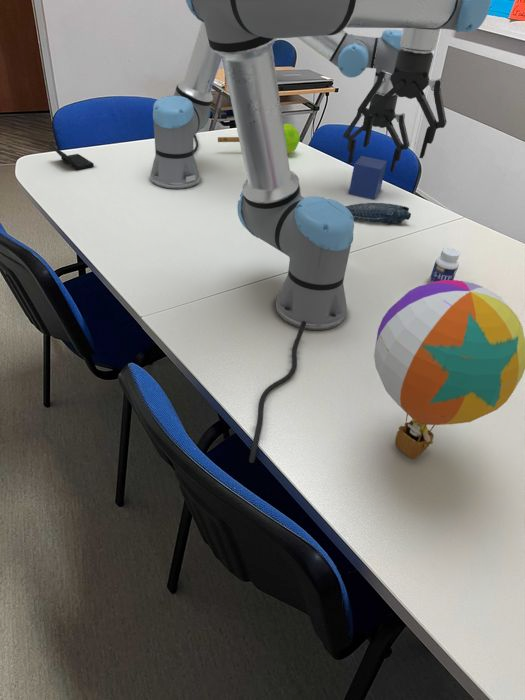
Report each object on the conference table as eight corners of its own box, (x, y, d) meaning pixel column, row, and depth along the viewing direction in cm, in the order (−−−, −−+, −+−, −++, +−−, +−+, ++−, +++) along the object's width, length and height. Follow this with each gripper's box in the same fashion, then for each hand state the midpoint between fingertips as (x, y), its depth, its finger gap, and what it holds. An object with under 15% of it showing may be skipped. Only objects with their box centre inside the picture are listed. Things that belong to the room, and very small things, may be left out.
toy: (324, 440, 84) (359, 279, 65) (398, 390, 94) (447, 240, 76) (424, 525, 73) (502, 362, 54) (495, 458, 83) (581, 302, 65)
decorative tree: (215, 117, 188) (295, 117, 193) (215, 147, 195) (292, 146, 200) (221, 131, 174) (307, 131, 180) (221, 163, 181) (304, 161, 186)
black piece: (98, 159, 169) (76, 137, 160) (86, 177, 167) (64, 156, 159) (77, 155, 175) (55, 133, 167) (66, 172, 174) (43, 151, 165)
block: (380, 190, 171) (387, 161, 165) (374, 199, 165) (380, 169, 158) (355, 185, 173) (361, 155, 167) (348, 193, 167) (354, 163, 161)
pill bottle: (427, 286, 124) (438, 253, 119) (429, 276, 128) (440, 244, 122) (450, 292, 123) (461, 259, 117) (451, 281, 127) (463, 249, 121)
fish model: (409, 228, 149) (414, 212, 146) (336, 220, 150) (339, 204, 147) (407, 219, 154) (411, 203, 151) (336, 211, 155) (339, 195, 152)
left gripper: (430, 97, 150) (412, 170, 163) (347, 84, 156) (336, 155, 170) (426, 102, 144) (408, 177, 157) (340, 88, 151) (329, 161, 164)
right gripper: (477, 56, 110) (448, 157, 124) (364, 39, 117) (347, 137, 130) (474, 61, 105) (443, 166, 118) (355, 43, 112) (339, 144, 125)
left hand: (371, 166), depth 164 cm, fingers open, 13 cm apart
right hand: (393, 151), depth 124 cm, fingers open, 13 cm apart
